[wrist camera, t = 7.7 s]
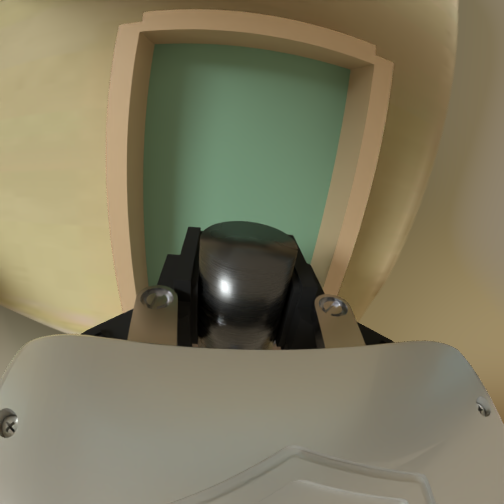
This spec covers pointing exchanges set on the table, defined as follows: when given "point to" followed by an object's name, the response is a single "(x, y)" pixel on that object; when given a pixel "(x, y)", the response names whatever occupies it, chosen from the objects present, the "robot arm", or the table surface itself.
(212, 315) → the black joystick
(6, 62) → the table surface
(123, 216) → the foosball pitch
